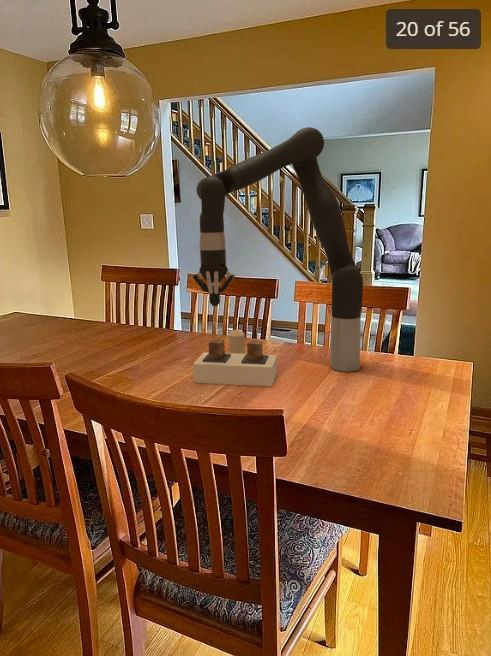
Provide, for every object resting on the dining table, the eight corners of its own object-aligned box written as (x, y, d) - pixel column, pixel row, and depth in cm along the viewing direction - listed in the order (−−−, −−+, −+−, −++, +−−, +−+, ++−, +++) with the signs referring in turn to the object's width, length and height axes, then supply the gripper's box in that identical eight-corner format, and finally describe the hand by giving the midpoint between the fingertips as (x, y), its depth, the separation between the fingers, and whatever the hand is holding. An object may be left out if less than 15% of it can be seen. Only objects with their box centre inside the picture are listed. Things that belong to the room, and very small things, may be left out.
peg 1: (225, 359, 155) (224, 339, 153) (221, 363, 151) (221, 342, 150) (212, 359, 156) (211, 339, 154) (209, 363, 152) (208, 342, 150)
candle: (243, 360, 170) (242, 332, 168) (227, 359, 171) (227, 332, 169) (246, 355, 175) (245, 328, 173) (231, 355, 177) (230, 328, 174)
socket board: (277, 372, 157) (277, 353, 155) (271, 386, 146) (271, 365, 144) (204, 369, 162) (203, 350, 160) (193, 382, 150) (192, 362, 149)
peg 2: (262, 361, 153) (262, 340, 151) (260, 365, 149) (260, 344, 147) (249, 360, 154) (249, 340, 152) (247, 364, 150) (247, 343, 148)
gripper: (237, 246, 147) (239, 303, 151) (194, 246, 150) (197, 302, 154) (232, 249, 140) (233, 308, 144) (187, 249, 143) (190, 307, 147)
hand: (215, 305), depth 149 cm, fingers closed
